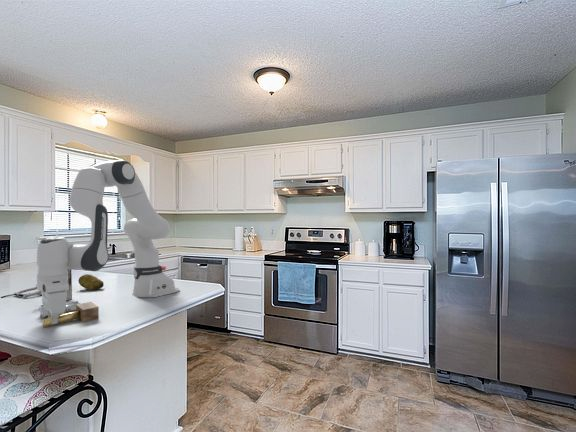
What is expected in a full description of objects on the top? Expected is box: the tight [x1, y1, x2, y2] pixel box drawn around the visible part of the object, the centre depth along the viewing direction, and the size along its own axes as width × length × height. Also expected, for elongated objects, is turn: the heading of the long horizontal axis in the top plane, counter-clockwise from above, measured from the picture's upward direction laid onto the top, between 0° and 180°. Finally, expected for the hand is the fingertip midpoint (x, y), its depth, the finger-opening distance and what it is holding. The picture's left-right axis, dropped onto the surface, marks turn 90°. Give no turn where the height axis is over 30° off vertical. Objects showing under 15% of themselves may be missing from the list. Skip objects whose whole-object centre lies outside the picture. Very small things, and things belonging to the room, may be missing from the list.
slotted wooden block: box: [76, 301, 100, 323], centre depth 117 cm, size 5×10×6 cm, turn 46°
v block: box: [39, 300, 81, 320], centre depth 121 cm, size 12×7×5 cm, turn 136°
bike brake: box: [0, 284, 42, 299], centre depth 157 cm, size 14×7×20 cm
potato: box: [77, 274, 105, 291], centre depth 169 cm, size 8×13×8 cm, turn 64°
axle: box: [41, 310, 81, 328], centre depth 112 cm, size 13×3×3 cm, turn 136°
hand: (53, 321), depth 109 cm, fingers closed on axle, 3 cm apart
